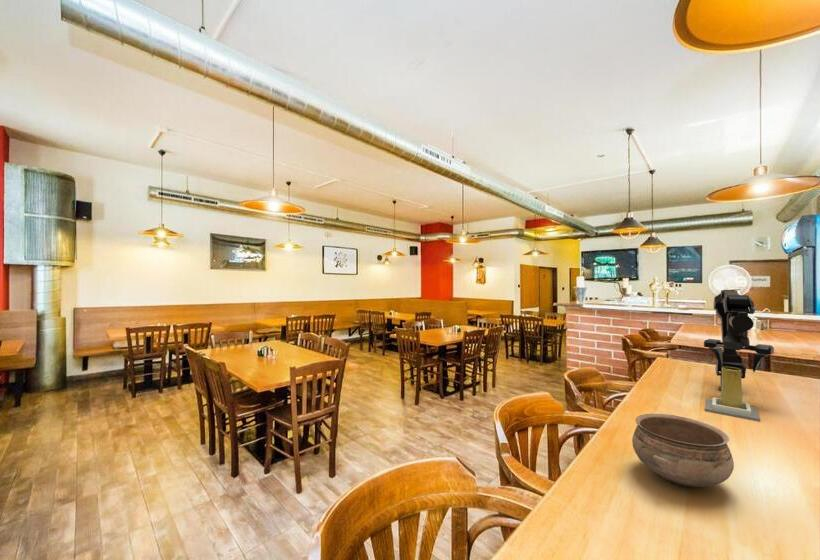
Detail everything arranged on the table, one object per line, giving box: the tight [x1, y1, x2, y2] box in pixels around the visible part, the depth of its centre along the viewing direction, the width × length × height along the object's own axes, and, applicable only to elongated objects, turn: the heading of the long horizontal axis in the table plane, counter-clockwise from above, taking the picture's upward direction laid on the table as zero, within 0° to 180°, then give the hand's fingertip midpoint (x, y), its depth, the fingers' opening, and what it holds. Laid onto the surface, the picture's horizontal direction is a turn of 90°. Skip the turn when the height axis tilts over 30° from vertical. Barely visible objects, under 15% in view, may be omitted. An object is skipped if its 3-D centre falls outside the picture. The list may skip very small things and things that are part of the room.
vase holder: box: [704, 396, 761, 422], centre depth 125 cm, size 14×14×2 cm
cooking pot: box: [631, 413, 735, 488], centre depth 83 cm, size 25×19×12 cm
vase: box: [720, 367, 743, 409], centre depth 125 cm, size 6×6×14 cm
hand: (737, 369), depth 132 cm, fingers open, 9 cm apart
